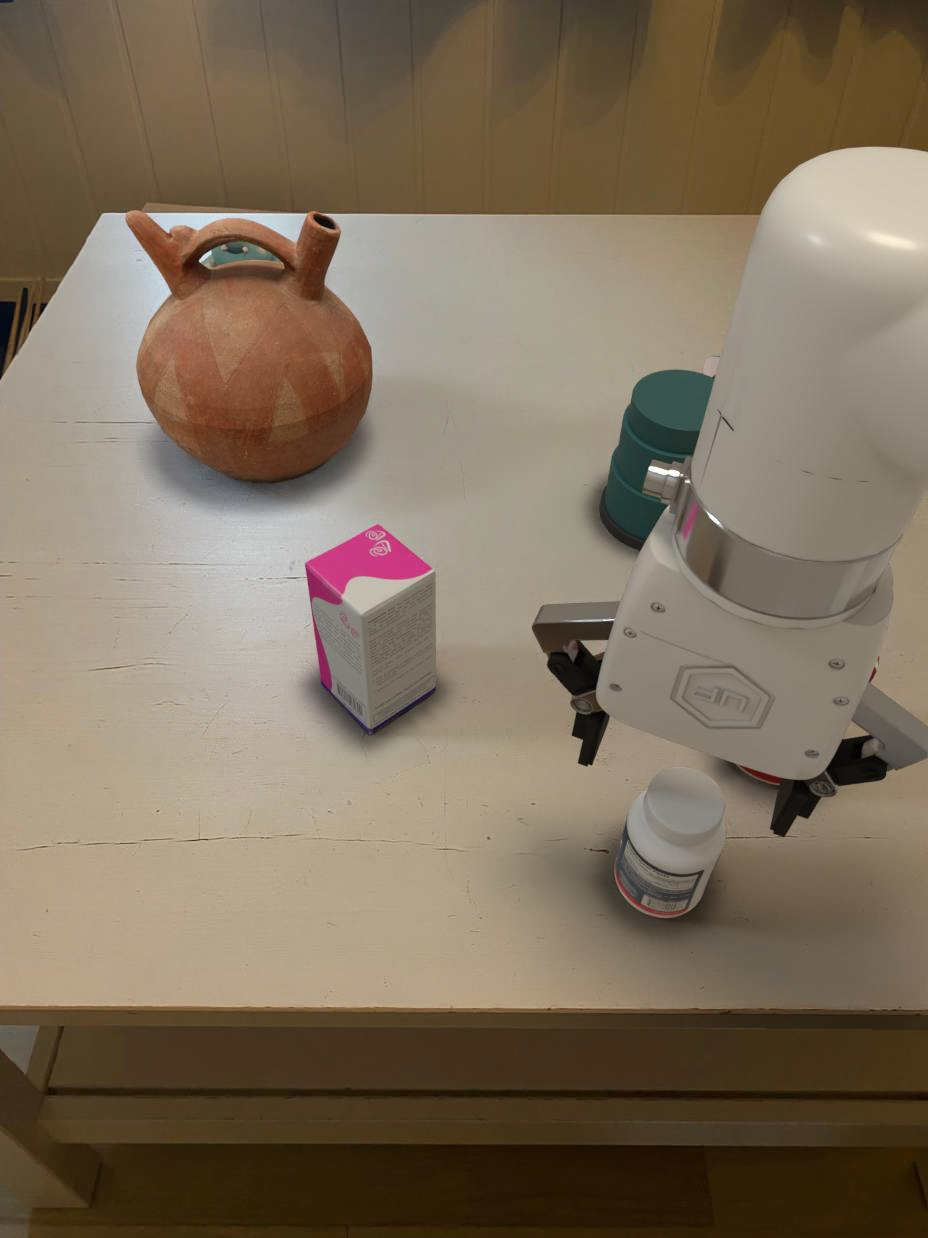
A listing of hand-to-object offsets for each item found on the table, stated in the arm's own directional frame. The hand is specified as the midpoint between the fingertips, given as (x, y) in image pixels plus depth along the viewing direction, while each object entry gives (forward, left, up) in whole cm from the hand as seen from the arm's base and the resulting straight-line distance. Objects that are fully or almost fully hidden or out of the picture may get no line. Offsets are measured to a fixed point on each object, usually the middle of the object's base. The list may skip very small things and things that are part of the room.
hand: (684, 776), depth 47 cm
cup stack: (+8, -31, -11) cm, 33 cm away
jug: (+41, -26, -11) cm, 49 cm away
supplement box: (+21, -6, -11) cm, 24 cm away
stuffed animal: (+55, -46, -11) cm, 73 cm away
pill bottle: (0, 0, -11) cm, 11 cm away
